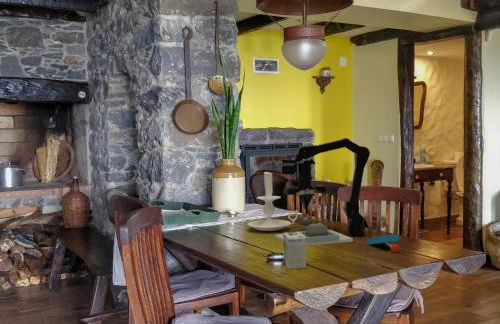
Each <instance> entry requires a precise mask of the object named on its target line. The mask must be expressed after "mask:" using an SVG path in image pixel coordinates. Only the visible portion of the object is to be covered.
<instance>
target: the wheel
mask: <svg viewBox="0 0 500 324" xmlns="http://www.w3.org/2000/svg"><path fill="white" fill-rule="evenodd" d="M298 221H299V223H298V224H299V225H300V226H309V224H313V219H311V218H308V217H303V218H300V219H299V220H298Z"/></svg>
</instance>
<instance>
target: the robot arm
mask: <svg viewBox="0 0 500 324" xmlns="http://www.w3.org/2000/svg"><path fill="white" fill-rule="evenodd" d="M344 148H345V149H347V150H348V151H350V152H352V153H353V154H354V156H353V157H354V158H353V159H354V169H353V176H352V182H351V186H350V187H351V188H350V192H349V197H348V199H347V200H346V199H344V204H343V207H342V210H343V212H344V214H345V216H346V217H347V218H349V220H348V223H347V233H346V235H348V236H349V237H352V238H353V237H364V236H365V237H366V236H367V234H366V233H365V217H364V216H363V215H362V214H361V213H360V200H359V199H360V194H361V193H360V192H361V190H362V189H361V188H362V182H363V176H364V172H365V167H366V165H367V163H368V160H369V158H370V155H371V151H370V149H369V148H368V147H367V146H362V145H358V144H357V143H356V142H354V141H352V140H350V139H349V138H347V137H343V138H342V139H337V140H334V141H329V142H325V143H321V144H313V145H310V144H309V145H302V146H300V147H299V148H298V149H297V154H296V156H295V157H294V158H293V159H285V158H283V159H282V160H281V175H282V176H283V175H285V176H286V175H289V176H290V175H292V176H293V175H295V174H296V173H297V174H298V175H297V178H296V179H295V178H292V179H290V180H289V185H290V186H288V187H284V188H283V191H282V192H283V195H287V196H294V195H296V196H298V197H299V199H300V202H301V204H302V206H303V209H304V210H308V207H309V205H310V203H311V200H312V199H313V197H314V196H315V195H316V193H315V192H319V193H321V194H323V193H327V192H328V188H327V187H326V185H322V184H319V185H314V186H313V185H312V180H313V179H314V178H313V176H312V165H316V162H315V161H314V159H313V157H315V156H317V155H318V154H319V155H320V154H323V153H326V152H330V151H335V150H339V149H344ZM309 159H310V160H309ZM301 161H302V162H301Z"/></svg>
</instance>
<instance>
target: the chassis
mask: <svg viewBox="0 0 500 324" xmlns="http://www.w3.org/2000/svg"><path fill="white" fill-rule="evenodd" d="M299 232H301V233H302V234H303V235H304V236H305V228H303V229H302V231H299ZM305 237H306V247H308V246H319V245H330V244H332V245H333V244H339V243H350V242H351V243H352V242H354V238H353V237H351V236H349V235H348V236H347V235H344V234H342V233H340V232H337V231H335V230H332V229H328V236H319V237H307V236H305ZM274 238H276V239H277V240H278V241H281V242H283V233H277V234H274Z"/></svg>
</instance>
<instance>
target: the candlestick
mask: <svg viewBox="0 0 500 324" xmlns="http://www.w3.org/2000/svg"><path fill="white" fill-rule="evenodd" d="M263 175H264V176H263V180H264V181H263V183H264V191H265V195H262V196H260V195H259V196H257V197H256V199H258V200H261V201H264V202H265V203H264V205H263V208H262V212H263V215H265V216H266V219H261V220H259V219H257V220H253V221H250V222H248V223H247V225H248V226H249V227H251V228H252V229H255V230H256V231H257V230H258V231H261V232H275V231H281V230H283V229H286V228H287V227H288V226H293V225H294V224H295V221H296V220H297V219H298V217H299V215H298V212H299V210H297V209H296V210H291V211H289V213H288V215H287V216H288V219H289V220H290V221H291V222H290V221H289V220H284V219H273V218H272V216H273V215H274V214H275V211H276V208H275V205H274V204H273V202H274V201H275V200H278V199H281V198H282V197H281V196H278V195H273V193H274V192H273V190H274V189H273V172H270V171H269V172H268V171H264V172H263ZM293 213H294V214H295V217H294V218H291V214H293Z"/></svg>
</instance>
